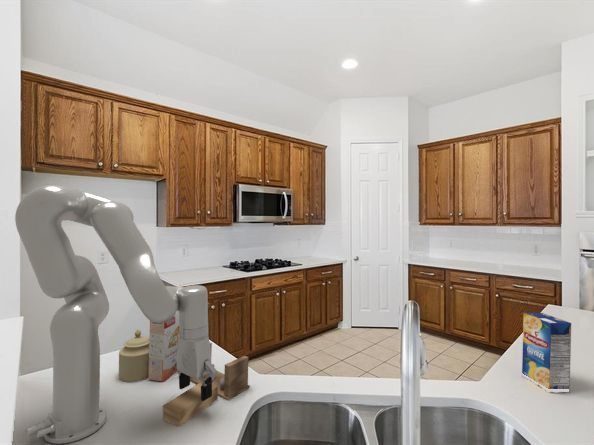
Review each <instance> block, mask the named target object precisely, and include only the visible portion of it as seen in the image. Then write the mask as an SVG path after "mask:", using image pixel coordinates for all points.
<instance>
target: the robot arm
mask: <svg viewBox="0 0 594 445" xmlns="http://www.w3.org/2000/svg"><path fill="white" fill-rule="evenodd" d="M14 215H15V216H14V217H15V218H14V220H15V221H14V222H15V226H16V229H17V233H18V235H19V237H20V240H21V242H22V245H23V247H24V249H25V251H26V254H27V256H28V260H29V262H30V264H31V268H32V270H33V273H34V275H35V277H36V280H37V282H38V285H39V287H40V289H41V291H42V293H44V295H46V296H47V297H49V298H52V299H64V301H65V304H63V305H62V306H60V308H59V309H58V310H56V312H55V314H54V315H53V317H52V318H51V321H50V326H49V334H50V339H51V346H52V412H50V413H48V415H47V419H44V420H43V421H42V422H41V423H39V424H35V425H32V426H29V427H28V428H26V430H25V434H26V437H27V438H30V437H33V436H36V438H37V439H39V438H42V437H43V438H44V440H45V441H46V442H47V443H50V444H53V445H54V444H55V445H56V444H57V445H60V444H61V445H62V444H67V443H73V442H77V441H80V440H82V439H84V438H87V437H88V436H91V435H92V434H93V433H96V432H97V431H98V430H99V429H100V428H102V426H104V424H105V423H106V421H107V412H106V410H105V409H103V408H100V391H101V390H100V389H101V388H100V385H101V384H100V383H101V382H100V381H101V380H100V379H101V378H100V376H101V373H100V372H101V369H100V368H101V360H100V359H101V346H100V337H99V327H100V326H101V324H102V323H103V321H104V320H106V319H107V318H106V317H107V316H108V314H109V311H110V303H109V299H108V295H107V293H106V291H105V289H104V286H103V284H102V281H101V280H102V279H101V278H100V275H99V272H98V270H97V268H96V267H95V265H94V263H93V262H92V261H91V260H89V259H88V258H87V257H85V256H81V255H79V254H78V255H77V254H75V250H74V249H73V247H72V244H71V241H70V238H69V237H68V235H67V233H66V231H65V230H64V229H63V226H62V223H63V221H64V222H65V221H70V222H74V223H78V224H82V225H85V226H89V227H92V228H93V229H94V231H95V232H96V234H97V235H98V237H99V238H100V241H102V243H103V244H104V246H105V247H106V249H107V251H108V252H109V254H110V255H111V257H112V259H113V260H114V262H115V263H116V265H117V266H118V268H119V271H120V275H121V276H122V279H123V280H124V283H125V285H126V287H127V290H128V291H129V293H130V295H131V297H132V299H133V301H134V302H135V304H136V305H137V307H138V308H139V309H140V311H141V312H142V314H143V315H144V316H145V318H146V319H147V320H149V322H150V321H152V322H154V323H159V324H160V323H165V322H168V321H169V320H171V319H172V318H173V317H174V315H175V314H176V311H178V312H179V326H180V335H179V338H178V344H177V355H176V356H175V360H176V366H177V374H178V384H179V385H178V386H179V387H178V389H179V390H183V389H185V388H187V387H189V386H191V381H190V377H192V378H194V379H198V378H200V381H201V383H202V386H201V400H202V401H205V400H206V399H208V398H210V397H211V396H212V382H213V381H214V380H215V377H216V374H217V371H218V370H217V369H216V367H215V366H214V367H213V365H212V364H213V363H212V353H211V349H210V343H211V342H210V337H209V302H208V299H209V298H208V297H209V296H208V293H209V292H208V289H207V287H206V286H204V285H200V284H196V285H188V286H174V285H173V286H172V285H165V284H164V282H163V280H162V279H161V276H160V275H159V273H158V270H157V268H156V265H155V263H154V262H155V261H154V256H153V255H154V254H153V252H152V249H151V247H150V245H149V244H148V242H147V241H146V239H145V238H144V236H143V234H142V233H141V231H140V229H139V228H138V227H137V225H136V223H135V222H134V213H133V210H131V208H130V207H129V206H127V205H126V204H125V203H121V202H118V201H115V200H110V199H107V198H104V197H101V196H97V195H94V194H92V193H89V192H85V191H82V190H80V189H75V188H71V187H67V186H63V185H56V184H47V185H42V186H39V187H36V188H35V189H33V190H31V191H29V192H28V193H27V194H26V195H25V196H24V197H23V198H22V199H21V200H20V202H19V204H18V205H17V207H16V210H15V214H14ZM203 371H204V373H203ZM205 375H207V379H206V380H205V379H204V376H205Z"/></svg>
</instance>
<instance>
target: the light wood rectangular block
mask: <svg viewBox="0 0 594 445" xmlns="http://www.w3.org/2000/svg"><path fill="white" fill-rule="evenodd" d="M201 386H202V383H201V382H200V383H199V384H195V385H193V386H192V387H190V388H189V389H187V390H186V391H184V392H182V393H181V394H179V395H177V396H175V397H174V398H173V399H171V400H169V401H168V402H166V403H164V404H163V405H162V420H164V421H166V422H169V423H170V424H172V425H175V426H177V427H181V426H182V425H184V424H185V423H186V422H188V421H189V420H190V419H192V418H193V417H195V416H196V415H198V414H199V413H200V412H202V411H203V410H204V409H206V408H207V407H209V406H211V405H212V403H214V402H215V401H217V400H218V398H219V396H218V386H215V385H212V396H211V397H210V398H208V399H206V400H205V401H202V400H201ZM208 405H209V406H208Z"/></svg>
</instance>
